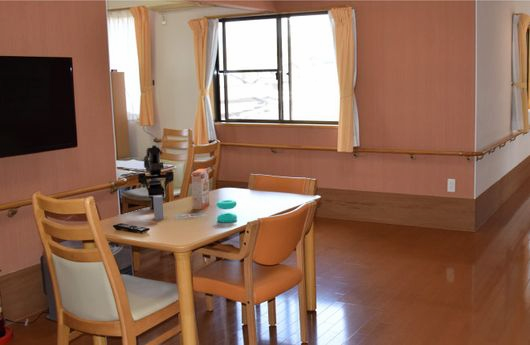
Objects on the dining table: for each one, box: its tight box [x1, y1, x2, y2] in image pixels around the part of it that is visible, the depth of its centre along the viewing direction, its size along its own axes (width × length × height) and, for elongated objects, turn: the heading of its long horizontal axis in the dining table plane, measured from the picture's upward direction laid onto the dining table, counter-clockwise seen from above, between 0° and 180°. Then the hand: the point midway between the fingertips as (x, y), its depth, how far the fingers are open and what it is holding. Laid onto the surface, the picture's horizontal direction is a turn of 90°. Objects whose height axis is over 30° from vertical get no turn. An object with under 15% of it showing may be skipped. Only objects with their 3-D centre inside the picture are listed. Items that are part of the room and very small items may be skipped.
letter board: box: [173, 211, 208, 220], centre depth 335 cm, size 12×16×1 cm
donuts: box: [216, 199, 238, 223], centre depth 321 cm, size 10×10×10 cm
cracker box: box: [191, 168, 210, 210], centre depth 356 cm, size 14×6×21 cm, turn 168°
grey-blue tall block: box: [153, 195, 165, 221], centre depth 330 cm, size 4×4×12 cm
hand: (156, 189), depth 339 cm, fingers open, 9 cm apart
